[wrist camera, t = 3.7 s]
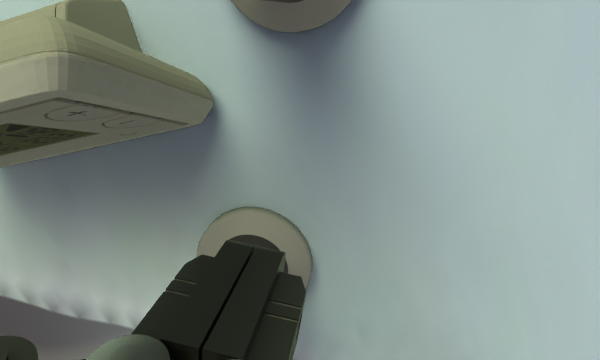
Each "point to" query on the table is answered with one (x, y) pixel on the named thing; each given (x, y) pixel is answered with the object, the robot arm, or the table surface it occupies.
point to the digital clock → (86, 83)
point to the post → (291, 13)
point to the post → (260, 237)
